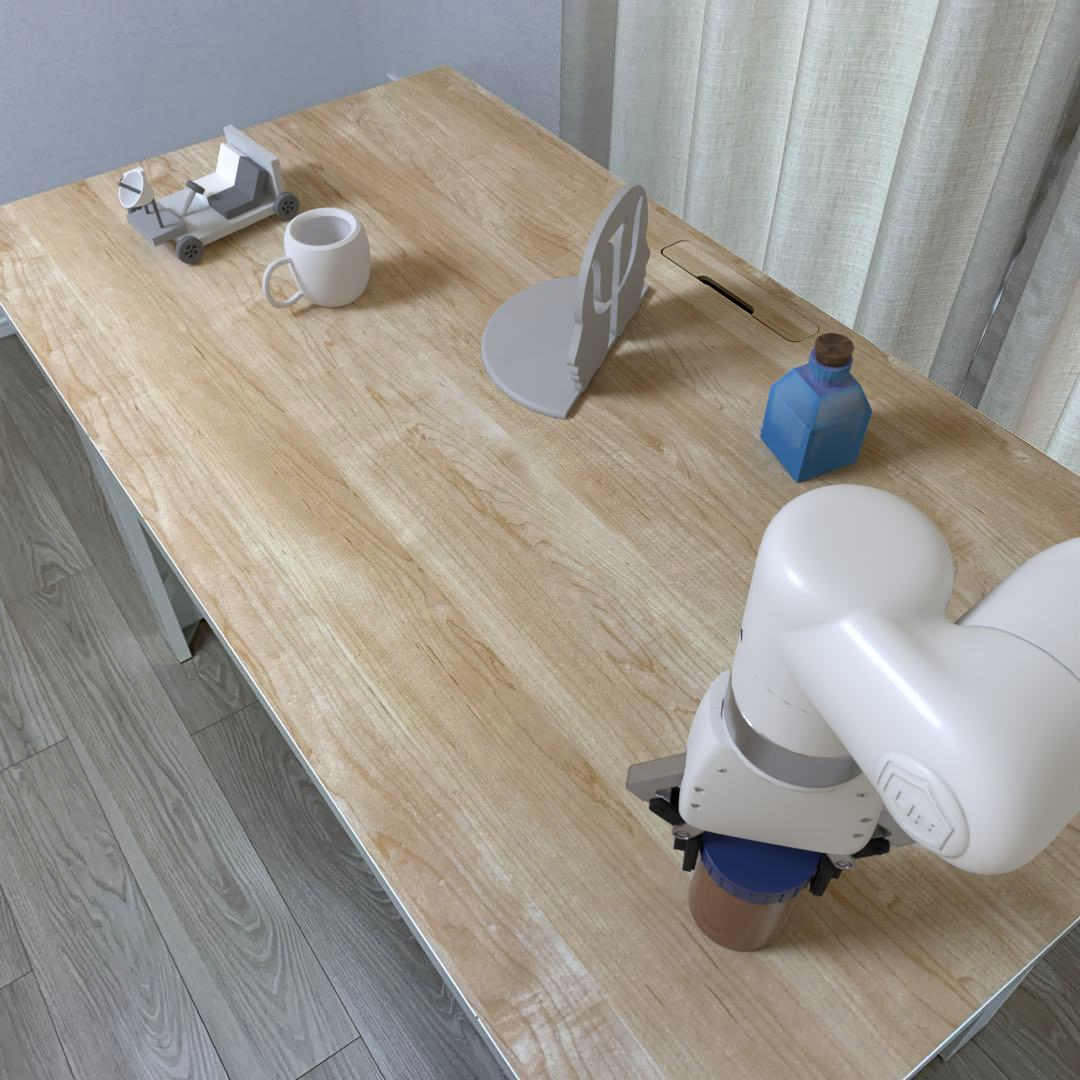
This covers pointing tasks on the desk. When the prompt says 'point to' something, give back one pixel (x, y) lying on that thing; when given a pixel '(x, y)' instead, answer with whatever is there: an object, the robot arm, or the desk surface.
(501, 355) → the ornament
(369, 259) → the mug
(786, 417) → the perfume bottle
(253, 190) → the toy car
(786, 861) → the lid
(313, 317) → the desk surface
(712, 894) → the jar
